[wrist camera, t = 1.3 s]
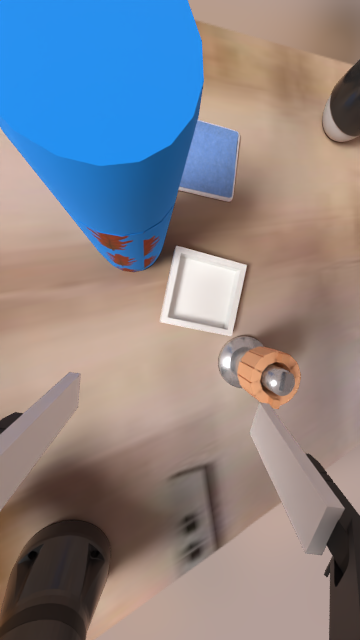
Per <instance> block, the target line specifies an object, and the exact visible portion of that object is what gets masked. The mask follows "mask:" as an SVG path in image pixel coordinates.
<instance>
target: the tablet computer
mask: <svg viewBox="0 0 360 640" xmlns="http://www.w3.org/2000/svg"><path fill="white" fill-rule="evenodd" d="M239 141H240V134H239V133H238V132H237V131H236V130H232V129H229V128H225V127H222V126H219V125H215V124H212V123H208V122H205V121H202V120H197V124H196V128H195V131H194V135H193V139H192V142H191V146H190V150H189V153H188V157H187V161H186V164H185V168H184V171H183V175H182V179H181V182H180V186H179V191H184V192H188V193H193V194H197V195H201V196H205V197H209V198H214V199H217V200H222V201H226V202H230V201H232V199H233V195H234V186H235V177H236V168H237V159H238V150H239Z"/></svg>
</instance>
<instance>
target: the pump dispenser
mask: <svg viewBox="0 0 360 640" xmlns="http://www.w3.org/2000/svg"><path fill="white" fill-rule="evenodd" d="M323 128H324V131H325V133H326V134H327V135H328V137H329V138H331V139H332V140H334V141H338V142H344V141H349V140H352V139H354V138H356V137H358V136H360V60H359V61H358V62H357V63H356V64H355V65H353V66H352V67H351V68H350V69H349V70H348V71H347V73H346V74H345V75H344V76H343V77H342V78H341V79H340V80H339V81H338V83H337V84H336V85H335V87H334V89H333V91H332V93H331V95H330V97H329V99H328V101H327V103H326V105H325V108H324V112H323Z"/></svg>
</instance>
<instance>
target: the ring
mask: <svg viewBox="0 0 360 640" xmlns="http://www.w3.org/2000/svg"><path fill="white" fill-rule="evenodd" d="M241 361H242V362H240V361H239V366H238V371H237V373H238V374H237V376H238V379H239V382H240V385H241V387H243V388H244V389H245V390H246V391H247V392H248V393H249V394H251V395H252V396H253V397H254V398H256V399H257V400H258V401H259V402H261V403H268V404H270V406H271V407H272V408H275V409H279V406H280V405H282V404H285V403H287V402H288V400H289V401H290V400H291V399H292V397H293V396H294V395H295V393H296V392H297V390H296V389H298V388H299V384H300V379H301V377H300V376H301V374H300V370H299V366H298V364H297V362H296V361H295V360H294V359H293V358H292V357H291V356H290V355H289V354H287V353H284V352H281V351H278V350H274V349H271V348H266V347H261V346H260V347H256V348H253V349H251V350H249V352H248V351H247V352H246V354H245V355H244V356H243V357H242V358H241ZM272 363H273V365H275V366H278V367H280V368H282V369H285V370H287V371H289V372H291V373H292V374H293V376H294V378H295V386H294V388H293V390H292V391H291V392H290V393H289V394H288V395H286V396H279V395H277V394H275V393H274V392H272V391H271V390H269V389H268V388H266V387H264V386H263V385H262V386H261V383H260V379H261V375H262V372H263V370H264V369H265V368H266V367H267V366H268V365H269V364H272Z"/></svg>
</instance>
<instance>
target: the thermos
mask: <svg viewBox="0 0 360 640" xmlns="http://www.w3.org/2000/svg"><path fill="white" fill-rule="evenodd" d="M203 82H204V78H203V56H202V40H201V37H200V34H199V32H198V29H197V26H196V23H195V20H194V17H193V15H192V12H191V9H190V6H189V3H188V0H0V127H1V129H2V130H3V132H4V133H5V135H6V136H7V137H8V138H9V140H10V141H11V142H12V143H13V145H14V146H15V147H16V148H17V150H18V151H19V152H20V153H21V155H22V156H23V157H24V158H25V160H26V161H27V162H28V163H29V165H30V166H31V167H32V168H33V170H34V171H35V172H36V173H37V175H38V176H39V177H40V178H41V180H42V181H43V182H44V183H45V185H46V186H47V187H48V188H49V190H50V191H51V192H52V193H53V195H54V196H55V197H56V198H57V200H58V201H59V202H60V203H61V205H62V206H63V207H64V208H65V210H66V211H67V212H68V213H69V215H70V216H71V217H72V219H73V220H74V221H75V222H76V224H77V225H78V226H79V227H80V229H81V230H82V231H83V232H84V234H85V235H86V236H87V237H88V239H89V240H90V241H91V242H92V244H93V245H94V246H95V247H96V249H97V250H98V251H99V252H100V253H101V254H102V255H103V256H104V257H105V258H106V259H107V260H108V261H109V262H110V263H111V264H112V265H113V266H115V267H117V268H119V269H121V270H123V271H129V272H137V271H142V270H145V269H146V268H148V267H150V266H151V265H153V263H154V262H155V261H156V259H157V258H158V257H159V255H160V253H161V251H162V248H163V244H164V241H165V237H166V234H167V230H168V226H169V223H170V219H171V215H172V212H173V208H174V204H175V201H176V197H177V193H178V190H179V186H180V182H181V179H182V175H183V171H184V168H185V164H186V161H187V157H188V153H189V150H190V146H191V142H192V139H193V135H194V131H195V128H196V124H197V120H198V116H199V109H200V103H201V96H202V89H203Z"/></svg>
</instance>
